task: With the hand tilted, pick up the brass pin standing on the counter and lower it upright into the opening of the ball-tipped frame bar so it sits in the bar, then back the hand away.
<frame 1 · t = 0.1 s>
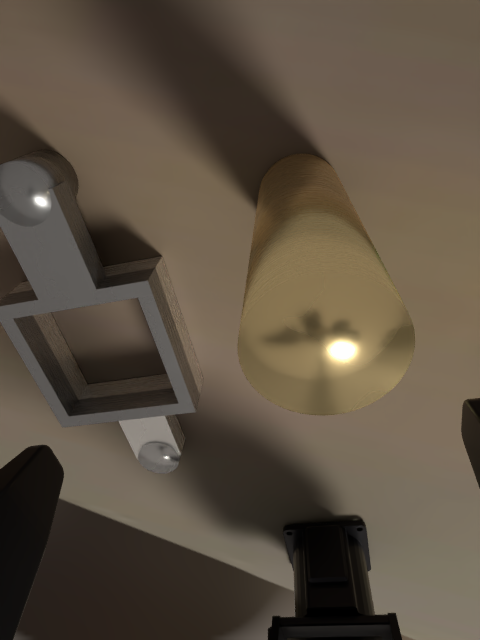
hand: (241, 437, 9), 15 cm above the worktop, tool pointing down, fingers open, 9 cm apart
brass pin: (299, 196, 21), on the worktop
ball-tipped frame bar: (117, 333, 26), on the worktop
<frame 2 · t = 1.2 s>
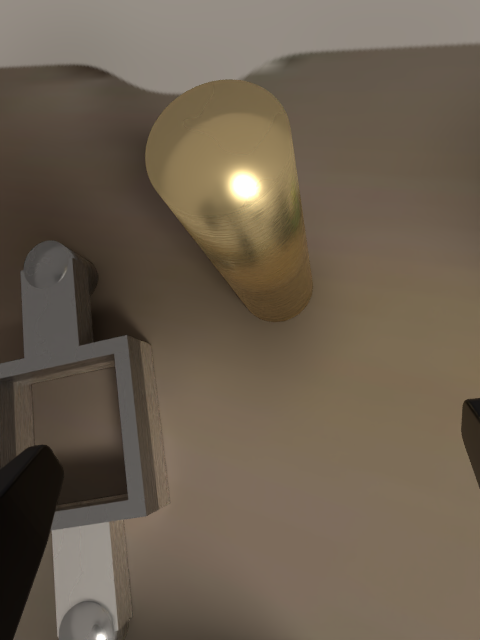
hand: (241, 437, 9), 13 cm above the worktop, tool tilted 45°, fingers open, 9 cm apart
brass pin: (276, 286, 24), on the worktop
ball-tipped frame bar: (89, 433, 24), on the worktop
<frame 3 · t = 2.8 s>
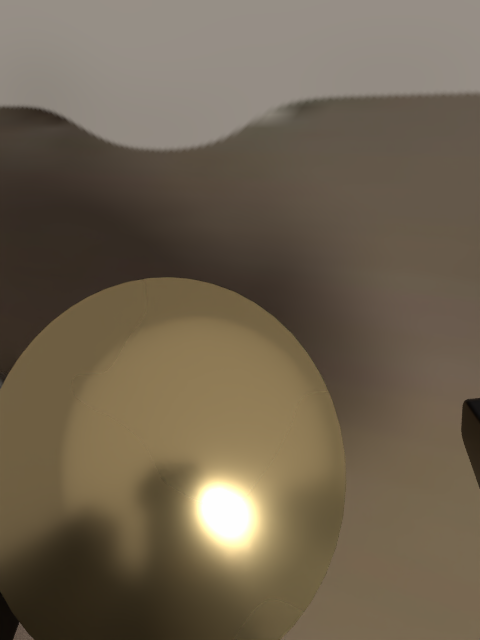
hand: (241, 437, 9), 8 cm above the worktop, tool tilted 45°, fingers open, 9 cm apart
brass pin: (283, 433, 17), on the worktop
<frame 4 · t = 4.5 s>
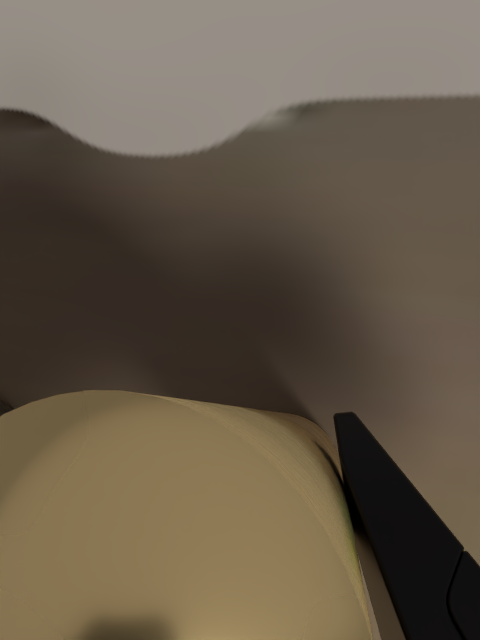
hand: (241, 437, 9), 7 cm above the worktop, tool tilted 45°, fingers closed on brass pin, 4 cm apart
brass pin: (284, 470, 15), on the worktop, touching gripper
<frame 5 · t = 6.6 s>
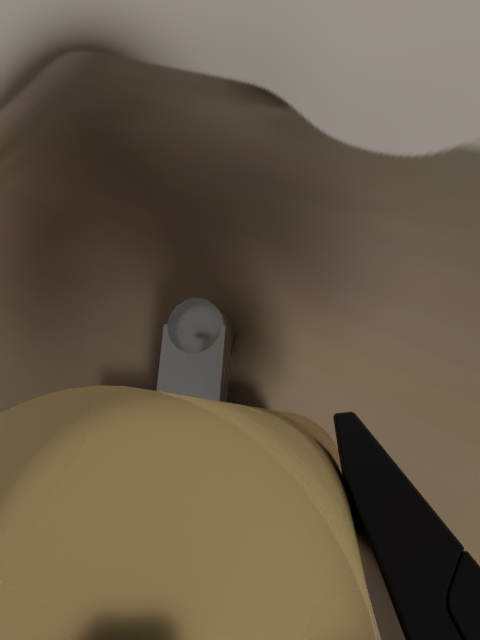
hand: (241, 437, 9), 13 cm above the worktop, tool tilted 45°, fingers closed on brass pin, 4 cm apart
brass pin: (284, 469, 15), point 7 cm above the worktop, touching gripper
ball-tipped frame bar: (195, 513, 22), on the worktop
when the fingers open (8 cm above the worktop, at t = 8.7 s): brass pin drops 1 cm, resting in ball-tipped frame bar.
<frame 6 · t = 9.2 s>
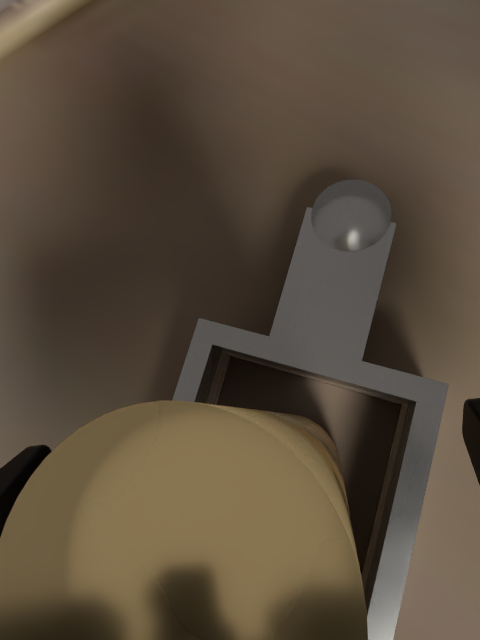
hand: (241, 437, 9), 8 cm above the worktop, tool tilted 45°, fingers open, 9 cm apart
brass pin: (288, 466, 17), resting in ball-tipped frame bar
ball-tipped frame bar: (288, 465, 17), on the worktop
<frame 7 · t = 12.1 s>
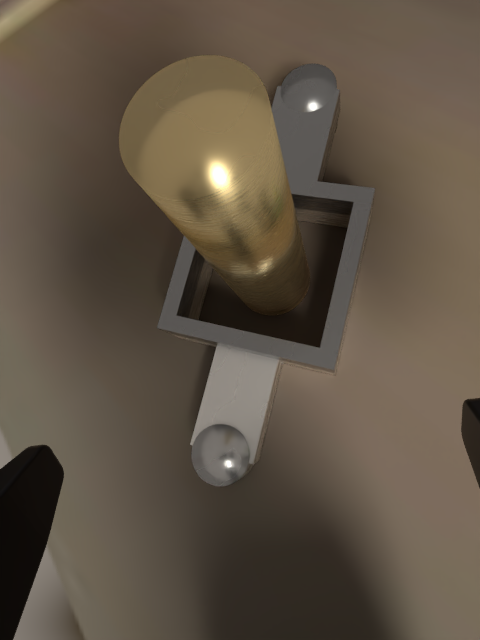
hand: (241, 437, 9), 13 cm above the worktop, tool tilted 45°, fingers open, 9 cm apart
brass pin: (272, 279, 23), resting in ball-tipped frame bar
ball-tipped frame bar: (273, 278, 23), on the worktop
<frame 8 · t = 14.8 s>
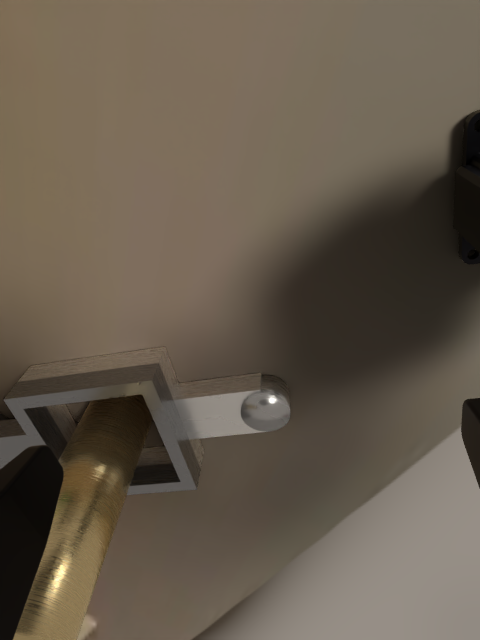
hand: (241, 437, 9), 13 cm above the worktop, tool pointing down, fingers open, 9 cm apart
brass pin: (122, 410, 27), resting in ball-tipped frame bar
ball-tipped frame bar: (121, 410, 27), on the worktop
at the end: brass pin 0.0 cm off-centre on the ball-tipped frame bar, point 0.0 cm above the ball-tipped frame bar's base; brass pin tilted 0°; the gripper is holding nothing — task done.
